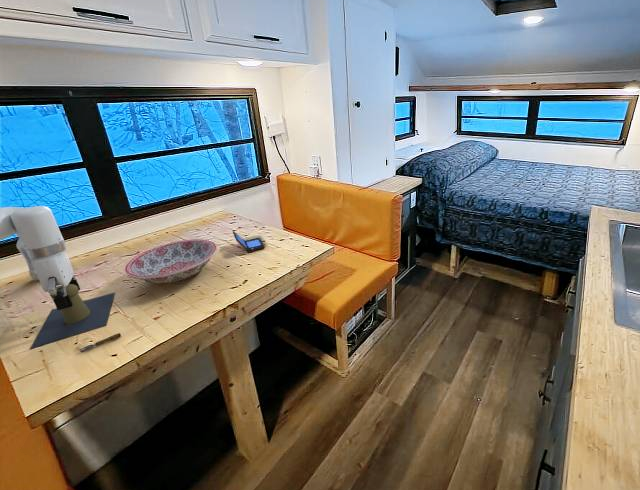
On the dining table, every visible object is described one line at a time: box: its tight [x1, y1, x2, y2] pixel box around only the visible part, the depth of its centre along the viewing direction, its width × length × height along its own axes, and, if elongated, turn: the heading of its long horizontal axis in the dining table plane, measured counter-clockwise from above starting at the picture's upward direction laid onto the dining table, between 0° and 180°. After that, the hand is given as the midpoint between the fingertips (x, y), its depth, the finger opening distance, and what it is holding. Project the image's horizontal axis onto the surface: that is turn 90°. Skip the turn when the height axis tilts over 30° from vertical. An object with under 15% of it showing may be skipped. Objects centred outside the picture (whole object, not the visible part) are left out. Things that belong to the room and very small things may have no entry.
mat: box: [29, 292, 116, 350], centre depth 95 cm, size 16×20×1 cm
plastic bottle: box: [16, 233, 40, 281], centre depth 114 cm, size 6×7×20 cm
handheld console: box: [232, 230, 266, 254], centre depth 137 cm, size 12×11×7 cm
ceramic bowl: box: [124, 238, 218, 284], centre depth 116 cm, size 29×29×8 cm
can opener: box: [77, 332, 122, 353], centre depth 84 cm, size 9×2×1 cm, turn 126°
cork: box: [57, 284, 90, 324], centre depth 93 cm, size 6×6×11 cm
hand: (69, 299), depth 93 cm, fingers open, 9 cm apart
